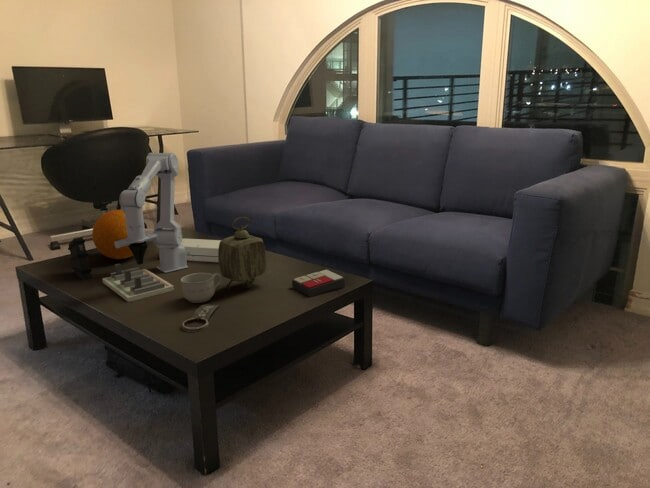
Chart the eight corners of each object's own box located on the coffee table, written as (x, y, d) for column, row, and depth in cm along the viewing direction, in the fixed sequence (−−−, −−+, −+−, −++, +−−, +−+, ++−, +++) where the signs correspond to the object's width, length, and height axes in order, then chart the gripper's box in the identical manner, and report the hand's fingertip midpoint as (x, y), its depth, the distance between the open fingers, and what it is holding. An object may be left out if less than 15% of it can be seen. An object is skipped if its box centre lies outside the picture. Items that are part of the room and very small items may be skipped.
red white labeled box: (291, 278, 189) (326, 267, 197) (292, 289, 190) (327, 278, 198) (308, 287, 180) (345, 276, 188) (309, 299, 182) (345, 287, 190)
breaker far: (121, 275, 198) (119, 263, 197) (122, 277, 197) (121, 264, 195) (115, 277, 197) (113, 264, 195) (117, 278, 196) (115, 265, 194)
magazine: (83, 278, 196) (73, 238, 197) (76, 284, 207) (66, 246, 207) (94, 276, 198) (83, 236, 199) (86, 282, 209) (76, 244, 210)
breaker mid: (130, 282, 191) (129, 269, 190) (132, 283, 190) (130, 270, 189) (125, 283, 190) (123, 270, 189) (126, 285, 189) (125, 271, 188)
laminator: (162, 259, 222) (161, 245, 221) (176, 250, 234) (175, 236, 232) (241, 264, 215) (240, 249, 213) (252, 255, 227) (251, 241, 225)
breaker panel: (145, 272, 206) (144, 265, 205) (173, 289, 189) (173, 281, 188) (102, 282, 196) (101, 274, 196) (128, 301, 179) (127, 293, 178)
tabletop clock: (253, 278, 199) (250, 211, 191) (269, 284, 192) (266, 215, 185) (220, 289, 189) (215, 218, 182) (235, 296, 183) (231, 223, 176)
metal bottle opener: (224, 307, 175) (224, 302, 174) (203, 334, 156) (203, 327, 156) (201, 306, 176) (200, 300, 175) (177, 332, 158) (177, 326, 157)
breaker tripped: (140, 289, 185) (139, 276, 183) (142, 290, 184) (141, 277, 182) (134, 291, 184) (133, 277, 182) (136, 292, 182) (135, 278, 181)
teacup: (187, 308, 173) (184, 284, 171) (179, 297, 182) (176, 274, 180) (229, 300, 179) (227, 277, 177) (219, 289, 189) (218, 267, 186)
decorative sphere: (100, 269, 211) (93, 218, 205) (92, 255, 227) (85, 208, 222) (152, 260, 220) (147, 212, 215) (141, 248, 237) (136, 202, 231)
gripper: (118, 231, 176) (123, 271, 180) (160, 223, 185) (164, 261, 189) (110, 227, 181) (115, 266, 185) (152, 219, 190) (156, 257, 194)
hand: (139, 263), depth 187 cm, fingers closed
